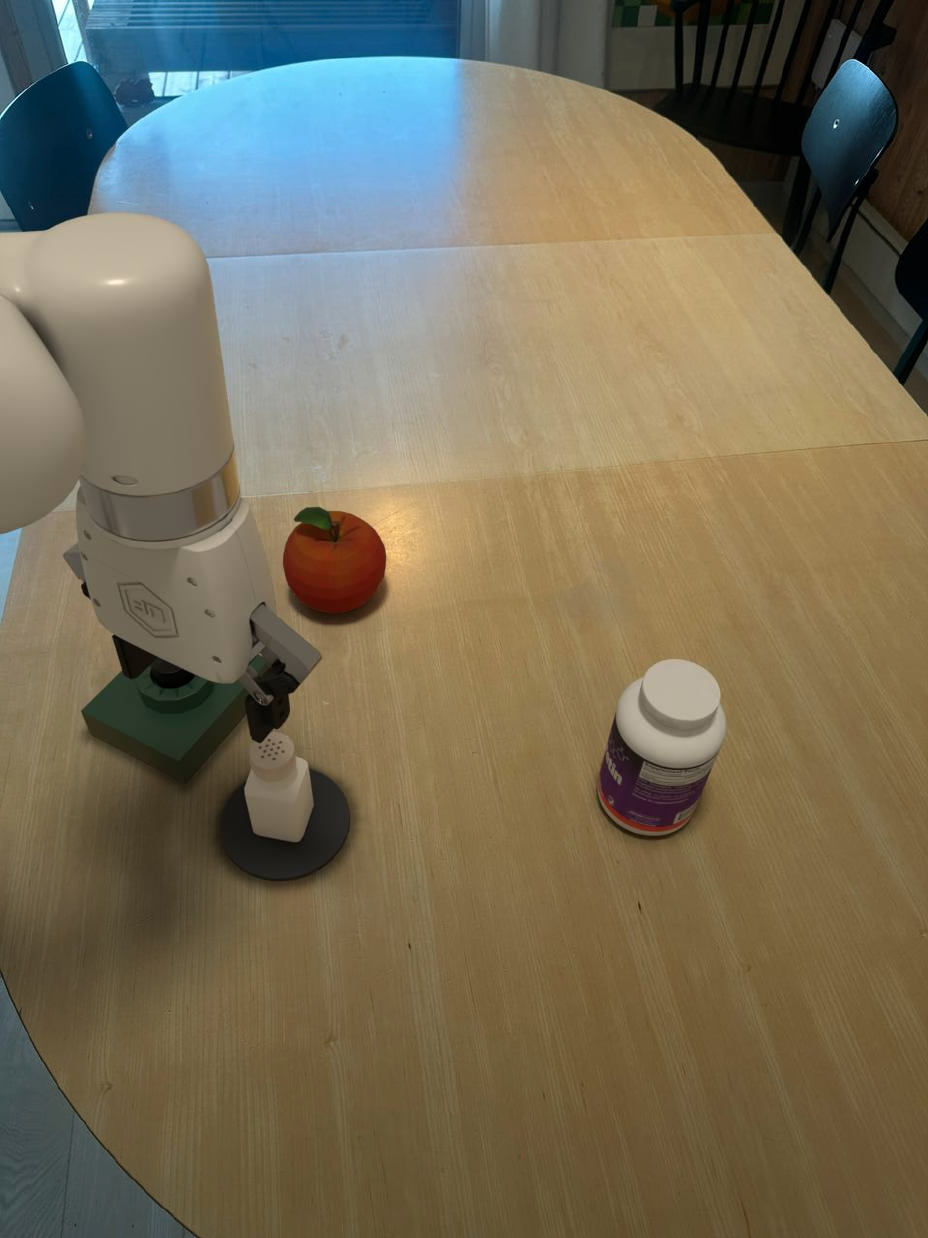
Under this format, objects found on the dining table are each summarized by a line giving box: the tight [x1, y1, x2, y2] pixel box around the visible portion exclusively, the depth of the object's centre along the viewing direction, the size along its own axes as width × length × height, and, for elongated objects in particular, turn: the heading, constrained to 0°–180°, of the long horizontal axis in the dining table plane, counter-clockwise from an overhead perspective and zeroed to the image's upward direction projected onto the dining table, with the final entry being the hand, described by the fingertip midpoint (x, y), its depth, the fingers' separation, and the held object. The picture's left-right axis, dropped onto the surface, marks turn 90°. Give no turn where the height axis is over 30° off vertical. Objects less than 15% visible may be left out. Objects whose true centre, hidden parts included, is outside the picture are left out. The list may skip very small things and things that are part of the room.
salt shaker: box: [244, 731, 314, 842], centre depth 72 cm, size 4×4×10 cm
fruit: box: [282, 506, 387, 614], centre depth 89 cm, size 10×10×10 cm
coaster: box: [219, 768, 351, 882], centre depth 76 cm, size 10×10×1 cm
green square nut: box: [80, 654, 271, 784], centre depth 81 cm, size 12×10×5 cm
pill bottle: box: [596, 658, 727, 837], centre depth 73 cm, size 8×8×14 cm
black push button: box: [151, 657, 194, 689], centre depth 79 cm, size 3×3×2 cm
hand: (206, 693), depth 61 cm, fingers open, 9 cm apart
